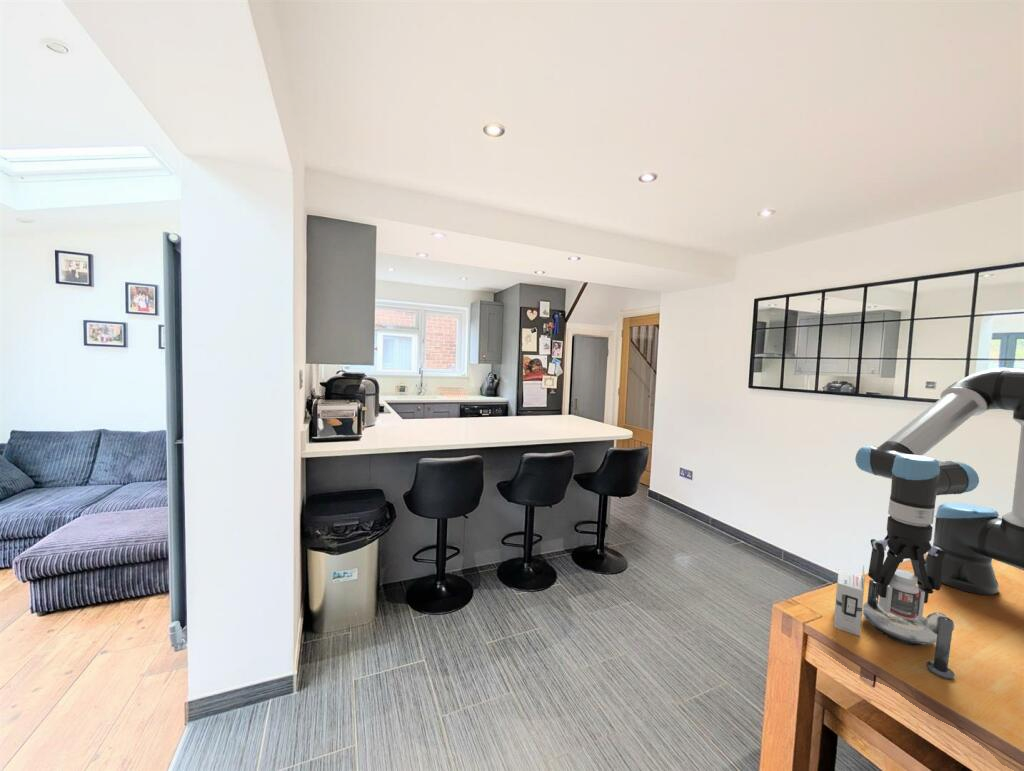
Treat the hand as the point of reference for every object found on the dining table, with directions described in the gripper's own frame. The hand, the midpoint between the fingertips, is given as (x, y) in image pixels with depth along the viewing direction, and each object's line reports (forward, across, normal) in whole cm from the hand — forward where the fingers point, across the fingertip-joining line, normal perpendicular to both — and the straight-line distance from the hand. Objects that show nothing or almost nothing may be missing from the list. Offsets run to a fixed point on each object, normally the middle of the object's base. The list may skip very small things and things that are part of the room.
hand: (900, 611), depth 95 cm
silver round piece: (+3, 0, 0) cm, 3 cm away
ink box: (+6, -10, 0) cm, 12 cm away
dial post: (+5, 0, -12) cm, 13 cm away
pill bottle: (+1, 0, 0) cm, 1 cm away
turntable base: (+5, 0, 0) cm, 5 cm away
